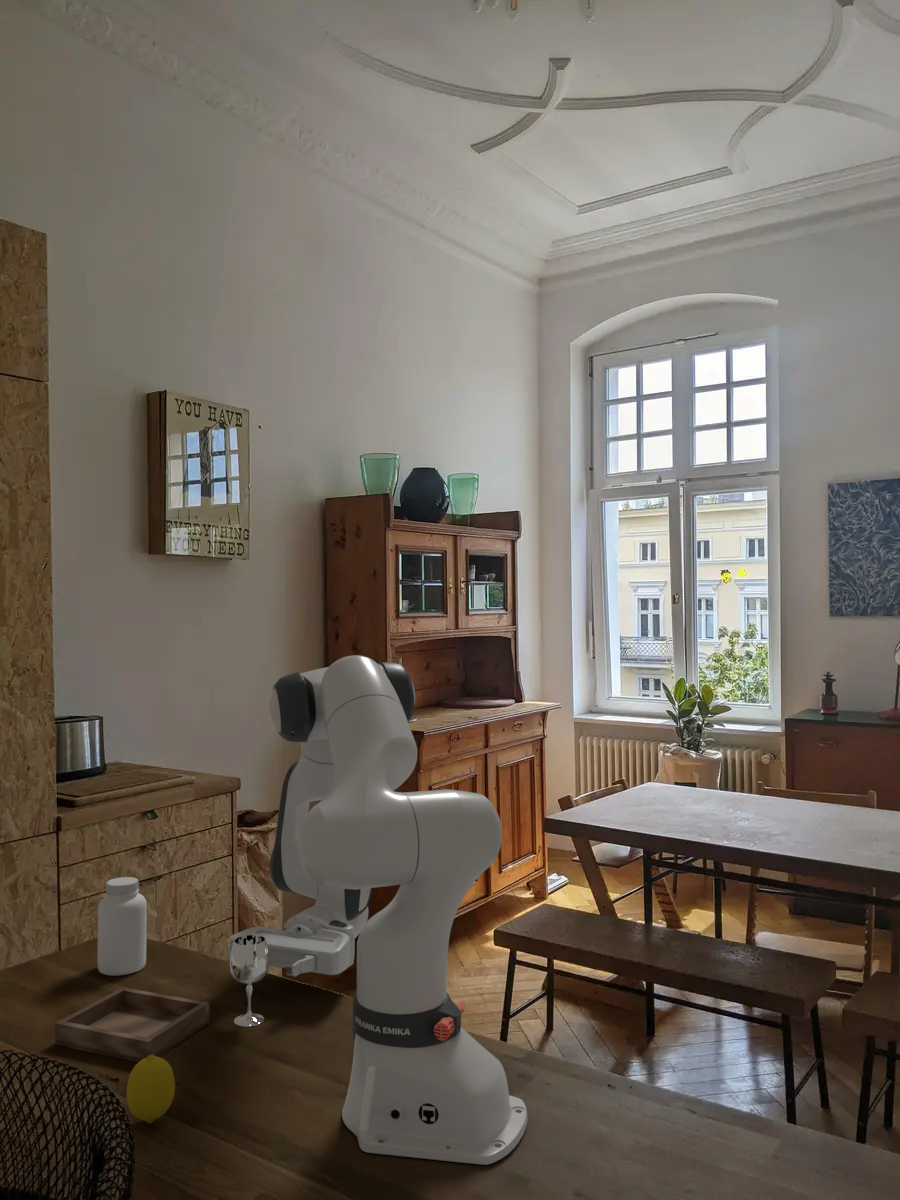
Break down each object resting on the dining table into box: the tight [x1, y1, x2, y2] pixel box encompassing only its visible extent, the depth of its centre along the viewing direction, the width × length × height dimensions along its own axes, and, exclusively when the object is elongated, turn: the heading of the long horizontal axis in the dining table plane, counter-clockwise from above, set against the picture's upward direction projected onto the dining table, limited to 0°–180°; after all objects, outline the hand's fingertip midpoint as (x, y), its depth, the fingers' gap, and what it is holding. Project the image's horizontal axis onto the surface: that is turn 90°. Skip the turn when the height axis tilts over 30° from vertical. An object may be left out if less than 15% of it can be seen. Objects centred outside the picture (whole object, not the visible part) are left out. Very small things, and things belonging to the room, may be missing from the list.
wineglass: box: [229, 935, 270, 1028], centre depth 142 cm, size 6×6×12 cm
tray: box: [54, 986, 210, 1063], centre depth 137 cm, size 16×14×3 cm
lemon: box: [125, 1055, 176, 1124], centre depth 113 cm, size 6×6×8 cm
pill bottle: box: [97, 876, 148, 977], centre depth 163 cm, size 8×8×15 cm
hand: (263, 966), depth 145 cm, fingers open, 8 cm apart
